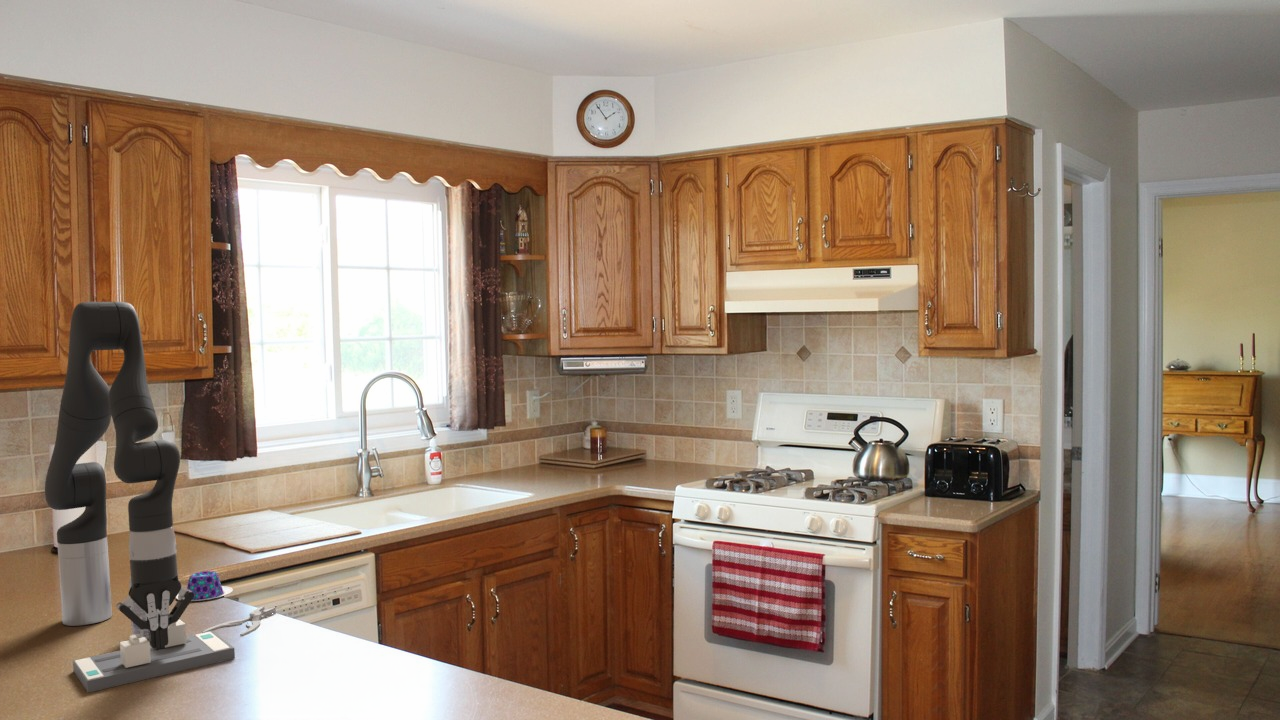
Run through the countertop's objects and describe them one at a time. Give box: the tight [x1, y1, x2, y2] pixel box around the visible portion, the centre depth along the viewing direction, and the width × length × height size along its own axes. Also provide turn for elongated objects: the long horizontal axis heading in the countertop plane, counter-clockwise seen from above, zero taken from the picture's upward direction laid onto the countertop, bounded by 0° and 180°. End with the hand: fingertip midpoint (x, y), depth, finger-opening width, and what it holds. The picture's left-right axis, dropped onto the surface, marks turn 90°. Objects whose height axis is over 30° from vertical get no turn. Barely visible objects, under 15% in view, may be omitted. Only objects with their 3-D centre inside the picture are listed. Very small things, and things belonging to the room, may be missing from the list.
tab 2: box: [165, 618, 187, 648], centre depth 188 cm, size 4×4×4 cm
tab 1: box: [119, 634, 151, 668], centre depth 178 cm, size 4×4×4 cm
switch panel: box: [72, 630, 236, 694], centre depth 183 cm, size 14×24×2 cm, turn 128°
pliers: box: [201, 606, 277, 637], centre depth 207 cm, size 10×2×15 cm
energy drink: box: [128, 577, 158, 640], centre depth 200 cm, size 5×5×12 cm
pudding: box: [175, 570, 234, 602], centre depth 230 cm, size 12×12×5 cm
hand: (159, 648), depth 180 cm, fingers closed
